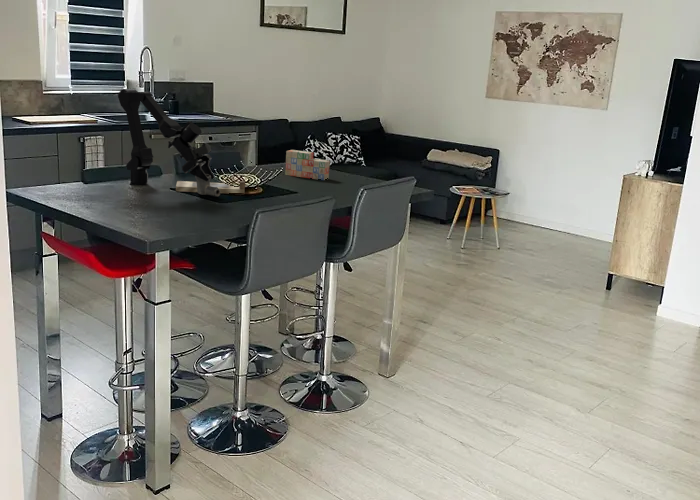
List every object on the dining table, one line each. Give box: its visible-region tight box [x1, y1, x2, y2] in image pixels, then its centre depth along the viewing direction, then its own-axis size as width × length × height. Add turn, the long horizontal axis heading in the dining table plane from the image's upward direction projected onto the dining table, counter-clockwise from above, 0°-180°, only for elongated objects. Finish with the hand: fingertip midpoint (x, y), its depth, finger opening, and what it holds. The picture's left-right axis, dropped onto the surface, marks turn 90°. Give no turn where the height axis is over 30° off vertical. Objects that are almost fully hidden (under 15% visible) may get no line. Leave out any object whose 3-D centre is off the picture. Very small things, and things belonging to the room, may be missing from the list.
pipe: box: [194, 174, 221, 197], centre depth 281 cm, size 6×13×8 cm, turn 53°
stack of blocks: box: [284, 149, 331, 181], centre depth 344 cm, size 21×6×12 cm, turn 69°
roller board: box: [175, 180, 246, 194], centre depth 294 cm, size 28×12×5 cm, turn 101°
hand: (210, 179), depth 281 cm, fingers closed on pipe, 6 cm apart
